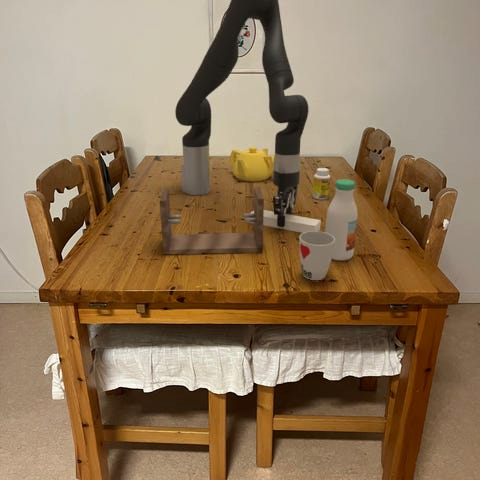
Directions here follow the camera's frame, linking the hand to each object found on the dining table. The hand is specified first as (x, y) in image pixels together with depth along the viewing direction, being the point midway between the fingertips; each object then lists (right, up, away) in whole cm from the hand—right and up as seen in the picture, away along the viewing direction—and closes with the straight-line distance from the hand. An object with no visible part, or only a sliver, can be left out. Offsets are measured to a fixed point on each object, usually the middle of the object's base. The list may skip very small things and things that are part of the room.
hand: (284, 223), depth 139 cm
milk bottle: (+12, -9, -17) cm, 23 cm away
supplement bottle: (+15, +10, +24) cm, 30 cm away
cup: (+4, -14, -28) cm, 32 cm away
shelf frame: (-21, -7, -13) cm, 25 cm away
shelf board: (0, -1, +1) cm, 1 cm away
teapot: (-8, +20, +47) cm, 52 cm away
